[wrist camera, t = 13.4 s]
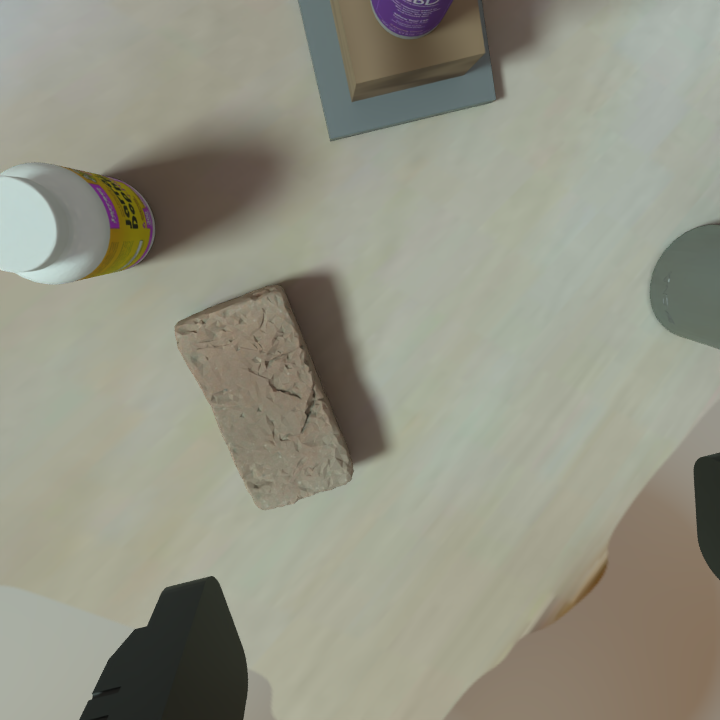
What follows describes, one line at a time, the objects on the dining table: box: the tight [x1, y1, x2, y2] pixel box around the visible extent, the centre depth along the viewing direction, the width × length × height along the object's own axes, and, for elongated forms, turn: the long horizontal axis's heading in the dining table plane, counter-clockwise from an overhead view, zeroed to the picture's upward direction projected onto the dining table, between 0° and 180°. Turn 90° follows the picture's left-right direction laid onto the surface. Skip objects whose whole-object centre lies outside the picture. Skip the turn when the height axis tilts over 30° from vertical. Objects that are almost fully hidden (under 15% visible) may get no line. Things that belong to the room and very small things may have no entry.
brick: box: [175, 285, 354, 510], centre depth 40 cm, size 17×8×5 cm, turn 20°
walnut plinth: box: [330, 0, 485, 102], centre depth 33 cm, size 8×8×5 cm
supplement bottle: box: [0, 162, 155, 284], centre depth 32 cm, size 7×7×13 cm
